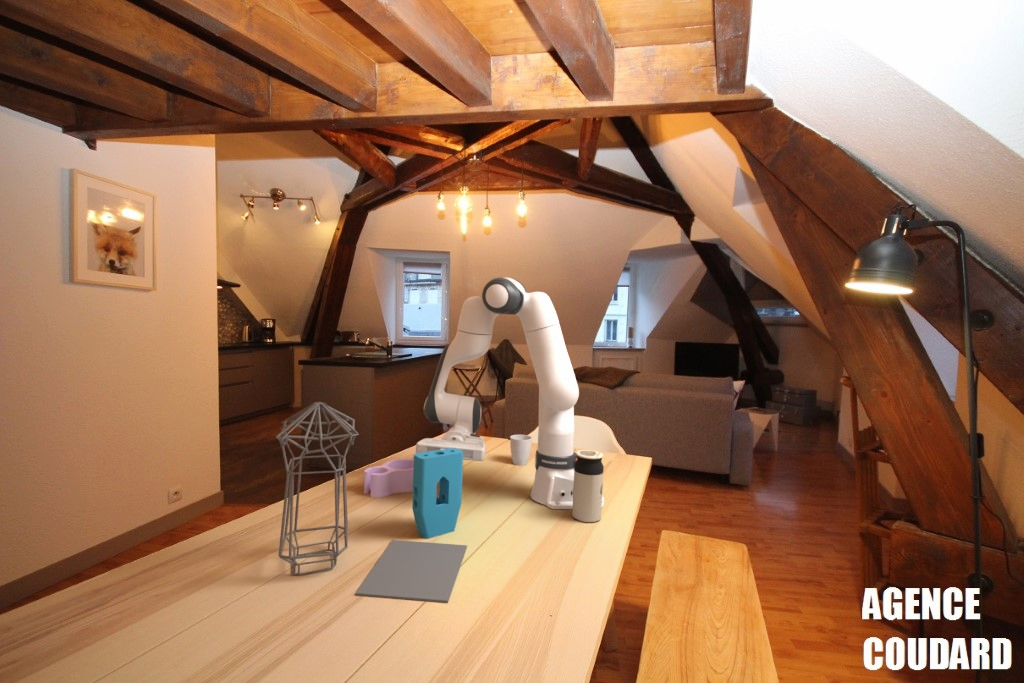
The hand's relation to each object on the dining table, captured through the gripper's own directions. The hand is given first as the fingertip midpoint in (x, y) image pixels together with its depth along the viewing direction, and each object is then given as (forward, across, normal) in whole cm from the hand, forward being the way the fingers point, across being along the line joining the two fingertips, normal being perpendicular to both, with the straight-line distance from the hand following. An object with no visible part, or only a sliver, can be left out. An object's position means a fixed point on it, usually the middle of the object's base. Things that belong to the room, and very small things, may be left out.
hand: (446, 457), depth 130 cm
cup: (-48, +19, +15) cm, 54 cm away
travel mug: (-4, +40, +14) cm, 43 cm away
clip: (-16, -18, +16) cm, 30 cm away
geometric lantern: (+30, -21, +16) cm, 40 cm away
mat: (+30, +1, +15) cm, 33 cm away
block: (+12, +1, +16) cm, 19 cm away
